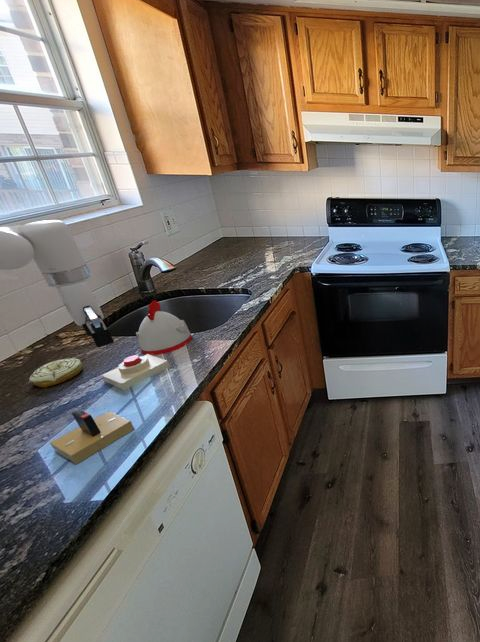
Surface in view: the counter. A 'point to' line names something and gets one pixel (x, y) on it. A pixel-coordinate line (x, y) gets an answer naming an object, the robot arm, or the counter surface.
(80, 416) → the lock knob
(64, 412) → the counter surface
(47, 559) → the counter surface
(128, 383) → the block
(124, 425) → the plate
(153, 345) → the kitchen timer
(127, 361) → the bell button
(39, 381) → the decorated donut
